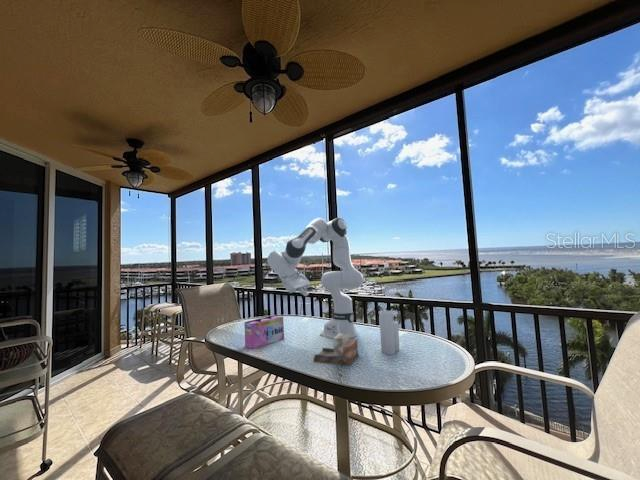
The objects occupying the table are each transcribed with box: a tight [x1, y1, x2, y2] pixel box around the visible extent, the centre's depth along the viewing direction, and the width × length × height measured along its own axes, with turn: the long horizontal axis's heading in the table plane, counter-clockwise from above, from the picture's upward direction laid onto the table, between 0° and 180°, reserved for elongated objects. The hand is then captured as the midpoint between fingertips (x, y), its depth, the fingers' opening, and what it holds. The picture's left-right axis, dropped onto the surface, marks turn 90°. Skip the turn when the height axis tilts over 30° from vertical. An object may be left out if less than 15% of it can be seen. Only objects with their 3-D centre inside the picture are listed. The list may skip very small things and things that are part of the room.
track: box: [313, 338, 359, 366], centre depth 140 cm, size 18×13×8 cm
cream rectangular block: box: [333, 333, 350, 357], centre depth 139 cm, size 5×8×9 cm, turn 157°
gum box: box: [243, 314, 285, 349], centre depth 172 cm, size 24×8×14 cm, turn 137°
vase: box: [378, 310, 400, 356], centre depth 148 cm, size 11×7×20 cm, turn 143°
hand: (307, 295), depth 150 cm, fingers closed
